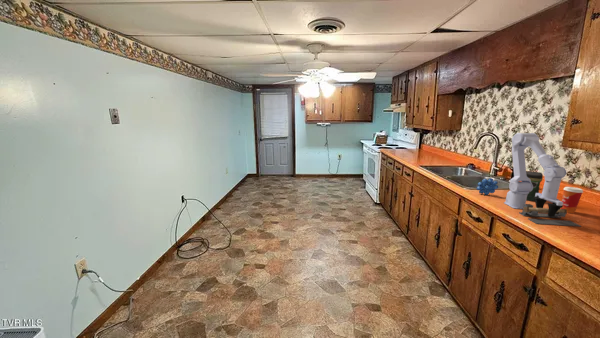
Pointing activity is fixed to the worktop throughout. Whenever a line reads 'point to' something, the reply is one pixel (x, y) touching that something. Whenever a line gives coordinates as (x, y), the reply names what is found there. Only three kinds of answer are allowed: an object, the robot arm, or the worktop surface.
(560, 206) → the robot arm
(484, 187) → the grapes
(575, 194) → the paper cup
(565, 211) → the tan wooden rod
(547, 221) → the mat
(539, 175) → the coffee jar
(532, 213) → the hook standards
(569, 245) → the worktop surface
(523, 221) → the worktop surface
